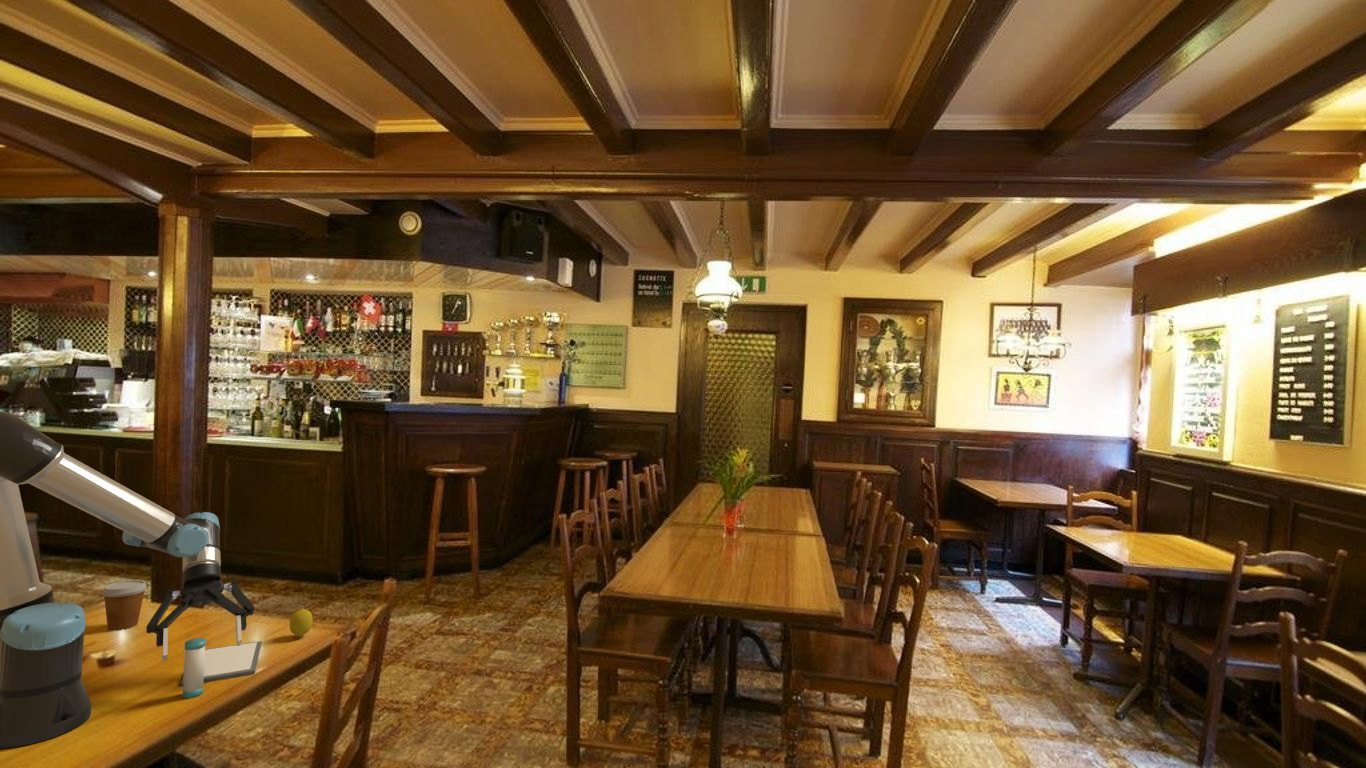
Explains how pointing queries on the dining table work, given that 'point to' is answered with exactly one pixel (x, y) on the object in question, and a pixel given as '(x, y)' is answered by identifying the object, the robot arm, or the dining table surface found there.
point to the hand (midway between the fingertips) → (203, 650)
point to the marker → (194, 667)
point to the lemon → (301, 622)
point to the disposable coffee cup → (123, 603)
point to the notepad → (230, 661)
